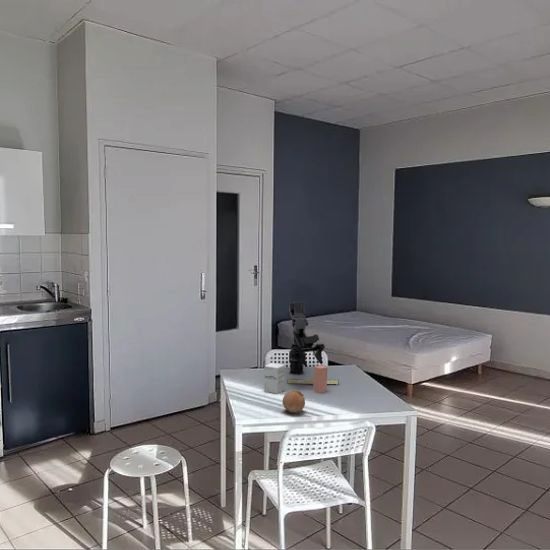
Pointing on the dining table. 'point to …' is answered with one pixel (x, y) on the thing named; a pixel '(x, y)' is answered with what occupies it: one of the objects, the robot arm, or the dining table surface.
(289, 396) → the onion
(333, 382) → the price rail
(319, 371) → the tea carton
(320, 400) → the dining table surface
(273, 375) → the supplement box
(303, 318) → the robot arm
